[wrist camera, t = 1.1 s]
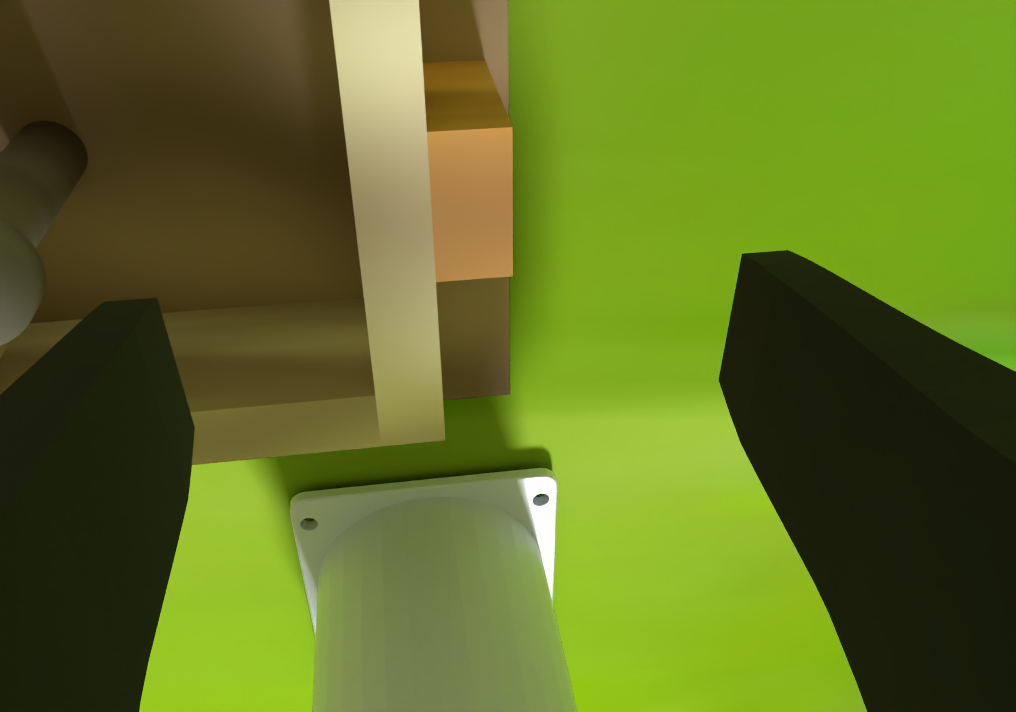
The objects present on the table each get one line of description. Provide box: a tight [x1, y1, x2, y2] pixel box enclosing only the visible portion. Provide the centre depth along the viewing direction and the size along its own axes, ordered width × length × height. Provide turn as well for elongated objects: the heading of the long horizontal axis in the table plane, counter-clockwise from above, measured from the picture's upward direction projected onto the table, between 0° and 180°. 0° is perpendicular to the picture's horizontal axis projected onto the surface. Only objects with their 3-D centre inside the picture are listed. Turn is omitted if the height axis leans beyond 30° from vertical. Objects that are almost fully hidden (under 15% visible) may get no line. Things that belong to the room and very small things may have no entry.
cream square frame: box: [0, 0, 513, 465], centre depth 17 cm, size 11×12×4 cm
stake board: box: [0, 0, 510, 400], centre depth 17 cm, size 15×16×7 cm
